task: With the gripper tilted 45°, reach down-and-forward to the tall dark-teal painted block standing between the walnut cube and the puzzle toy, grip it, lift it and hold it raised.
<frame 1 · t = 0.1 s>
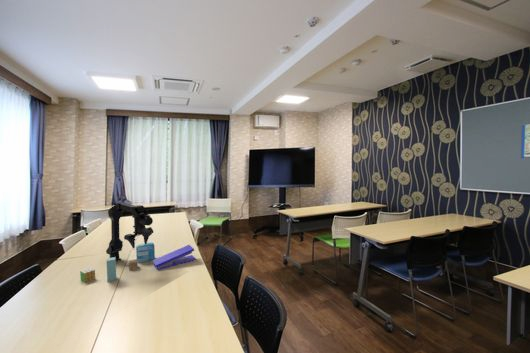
hand: (139, 246, 167), 15 cm above the table, tool pointing down, fingers open, 9 cm apart
teal block: (111, 279, 150), on the table
walnut cube: (133, 268, 167), on the table
stapler: (175, 263, 175), on the table
data package: (145, 260, 180), on the table
puzzle toy: (88, 279, 151), on the table
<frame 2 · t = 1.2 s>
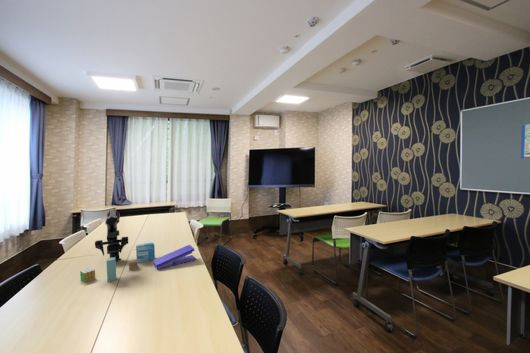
hand: (112, 254, 157), 13 cm above the table, tool tilted 45°, fingers open, 9 cm apart
nothing on the table moved.
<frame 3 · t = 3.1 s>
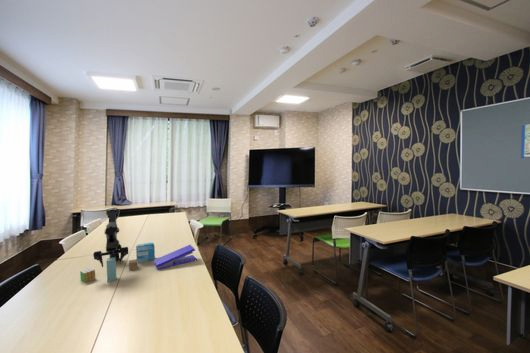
hand: (111, 265, 150), 9 cm above the table, tool tilted 45°, fingers open, 9 cm apart
nothing on the table moved.
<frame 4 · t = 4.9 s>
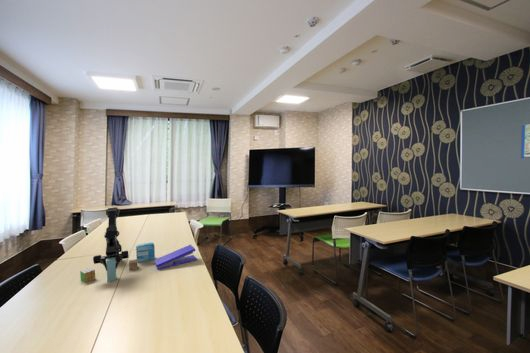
hand: (111, 269, 149), 7 cm above the table, tool tilted 45°, fingers closed on teal block, 4 cm apart
teal block: (111, 279, 150), on the table, touching gripper
everything else where it was.
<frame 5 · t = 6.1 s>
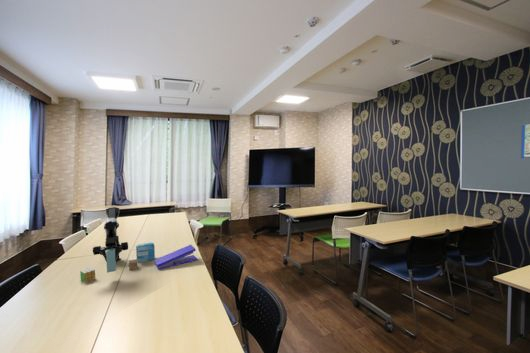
hand: (111, 260, 148), 12 cm above the table, tool tilted 45°, fingers closed on teal block, 4 cm apart
teal block: (111, 270, 150), point 6 cm above the table, touching gripper
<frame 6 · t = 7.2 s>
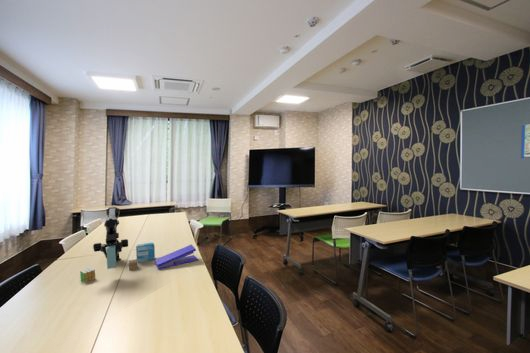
hand: (111, 257, 150), 13 cm above the table, tool tilted 45°, fingers closed on teal block, 4 cm apart
teal block: (111, 266, 152), point 7 cm above the table, touching gripper
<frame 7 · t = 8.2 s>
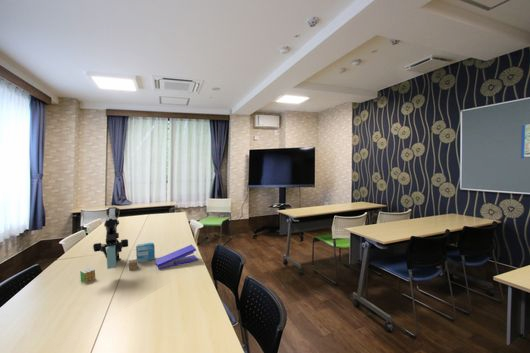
hand: (111, 257, 150), 13 cm above the table, tool tilted 45°, fingers closed on teal block, 4 cm apart
teal block: (111, 266, 152), point 7 cm above the table, touching gripper
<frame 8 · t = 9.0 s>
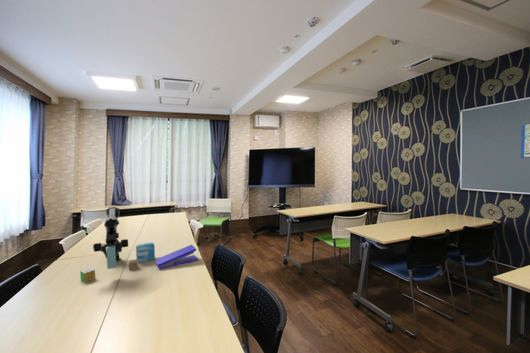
hand: (111, 257, 150), 13 cm above the table, tool tilted 45°, fingers closed on teal block, 4 cm apart
teal block: (111, 266, 152), point 7 cm above the table, touching gripper
at the end: the gripper is holding teal block; teal block point 6.9 cm above the table; walnut cube moved 0.1 cm from its start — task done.
